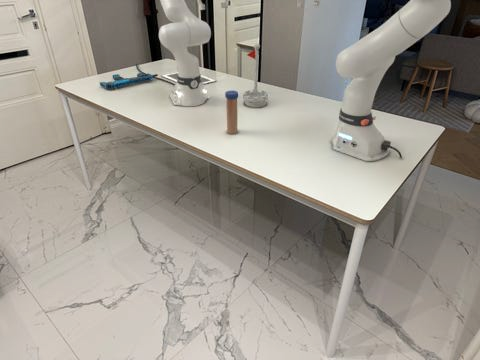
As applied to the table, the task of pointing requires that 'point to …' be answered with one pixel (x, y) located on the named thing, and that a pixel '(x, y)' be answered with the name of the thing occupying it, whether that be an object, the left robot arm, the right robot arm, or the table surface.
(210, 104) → the table surface
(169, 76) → the tablet
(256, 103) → the flag stand
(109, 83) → the submachine gun
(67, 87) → the table surface
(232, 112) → the jar
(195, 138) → the table surface
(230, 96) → the lid
